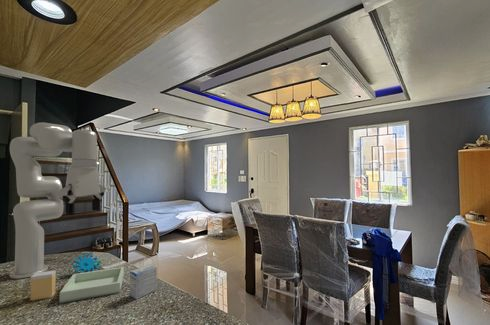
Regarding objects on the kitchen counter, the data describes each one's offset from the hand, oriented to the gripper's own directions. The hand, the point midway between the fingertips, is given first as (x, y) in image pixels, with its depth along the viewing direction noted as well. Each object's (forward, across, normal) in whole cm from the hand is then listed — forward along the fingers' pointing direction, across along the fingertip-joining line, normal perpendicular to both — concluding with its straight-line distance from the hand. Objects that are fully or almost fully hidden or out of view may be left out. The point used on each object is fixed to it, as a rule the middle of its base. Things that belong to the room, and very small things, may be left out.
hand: (83, 212), depth 86 cm
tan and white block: (+29, +4, -14) cm, 33 cm away
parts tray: (+29, -6, -2) cm, 30 cm away
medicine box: (+30, -8, +19) cm, 36 cm away
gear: (+30, -16, -18) cm, 38 cm away
